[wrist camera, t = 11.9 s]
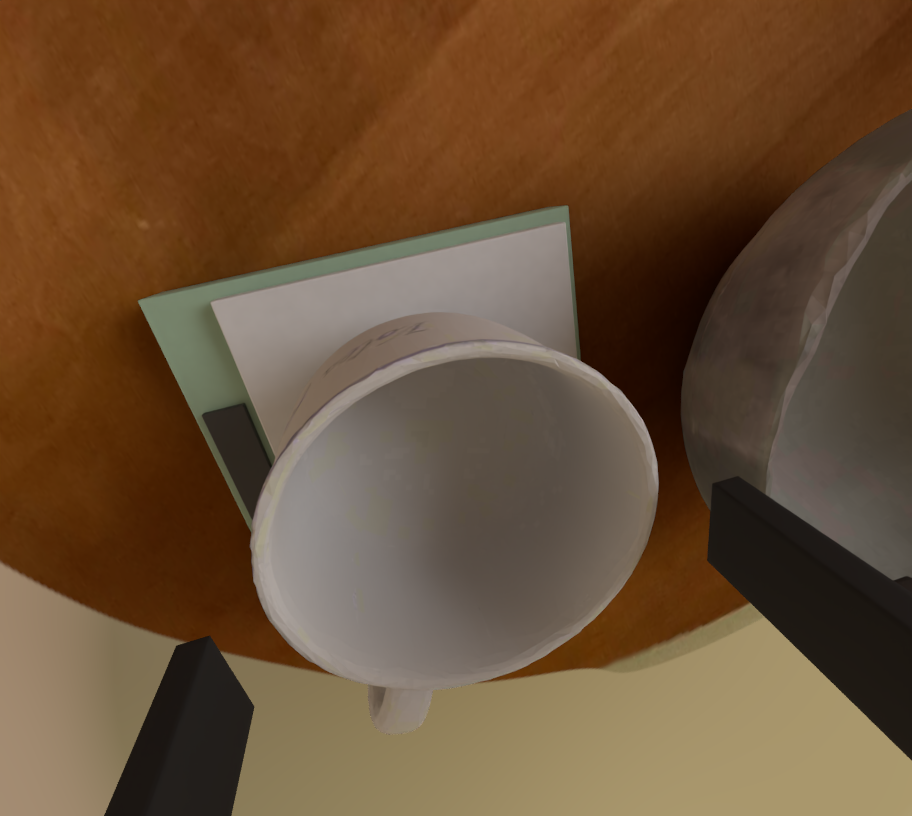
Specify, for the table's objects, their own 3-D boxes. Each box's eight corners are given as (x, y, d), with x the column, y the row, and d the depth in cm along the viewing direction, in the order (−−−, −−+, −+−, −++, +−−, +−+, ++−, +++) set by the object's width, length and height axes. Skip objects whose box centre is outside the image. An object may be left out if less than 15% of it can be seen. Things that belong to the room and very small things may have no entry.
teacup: (365, 236, 15) (368, 249, 8) (602, 365, 19) (750, 453, 12) (229, 546, 19) (145, 748, 12) (450, 604, 23) (492, 785, 15)
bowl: (820, 512, 30) (1024, 640, 20) (547, 471, 24) (658, 622, 15) (1024, 188, 23) (1456, 164, 14) (712, 30, 17) (1089, -179, 8)
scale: (305, 603, 24) (298, 648, 22) (160, 292, 17) (125, 304, 15) (579, 522, 26) (603, 554, 23) (548, 206, 19) (577, 204, 16)
